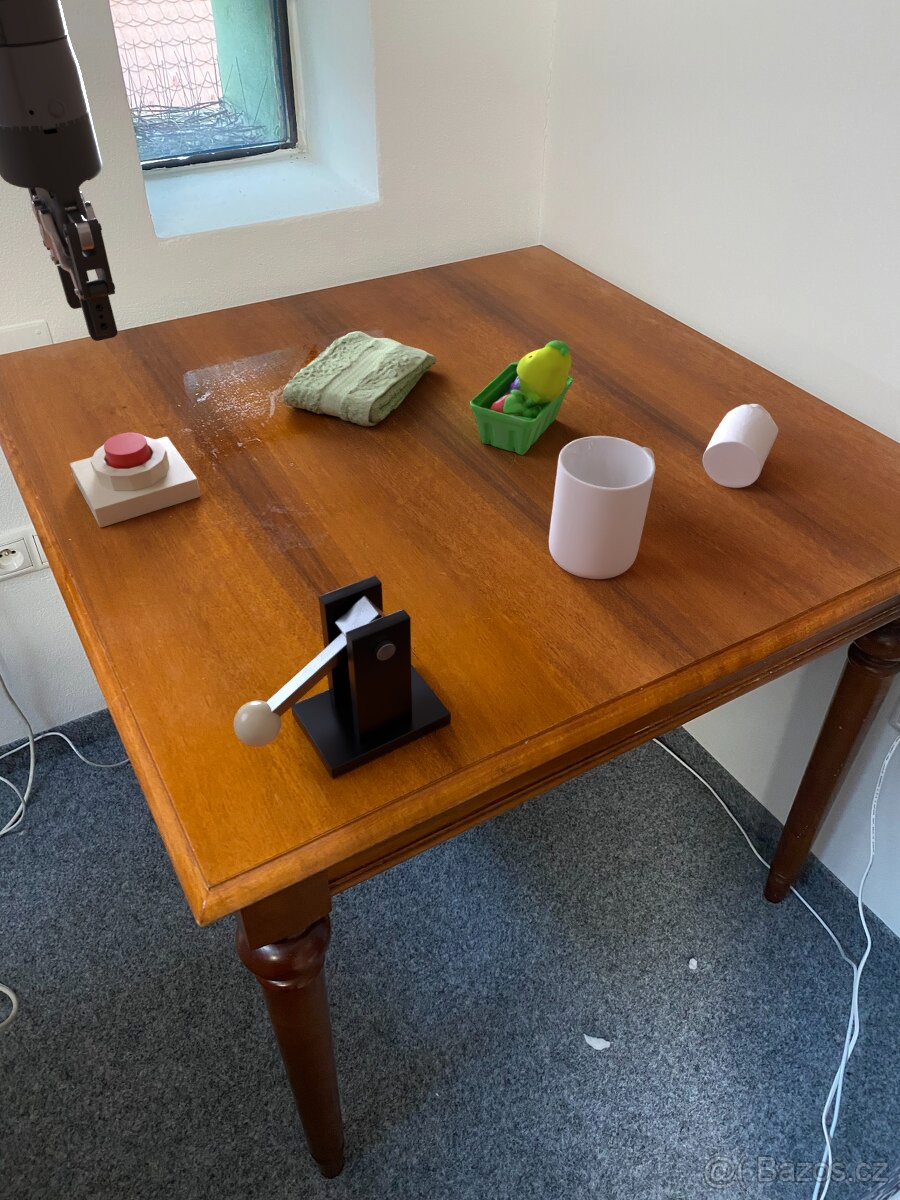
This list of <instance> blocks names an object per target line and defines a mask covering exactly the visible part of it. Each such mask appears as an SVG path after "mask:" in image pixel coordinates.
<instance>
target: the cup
mask: <svg viewBox="0 0 900 1200" xmlns="http://www.w3.org/2000/svg"><path fill="white" fill-rule="evenodd" d="M655 473H656V462H655V454H654V451H653V450H652V449H651V448H649V447H647V446H640V445H638V444H637V443H634V442H632V441H629V440H627V439H624V438H620V437H616V436H607V435H591V436H585V437H581V438H577V439H574V440H572V441H571V442H569V443H567V444H566V445H565V446H563V447H562V449H561V450H560V452H559V455H558V459H557V468H556V476H555V485H554V493H553V501H552V508H551V517H550V525H549V533H548V534H549V535H548V549H549V553H550V555H551V558H552V559H553V560H554V562H555V563H556V564H557V565H558V566H559V567H560V568H561V569H562V570H564V571H565V572H567V573H569V574H571V575H573V576H575V577H580V578H583V579H588V580H589V579H590V580H607V579H612V578H615V577H618V576H620V575H622V574H624V573H625V572H627V571H628V570H629V569H630V568H631V567H632V566H633V564H634V563H635V561H636V558H637V556H638V552H639V548H640V545H641V539H642V534H643V530H644V526H645V521H646V516H647V511H648V507H649V503H650V497H651V493H652V488H653V483H654V479H655V475H656V474H655Z"/></svg>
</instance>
